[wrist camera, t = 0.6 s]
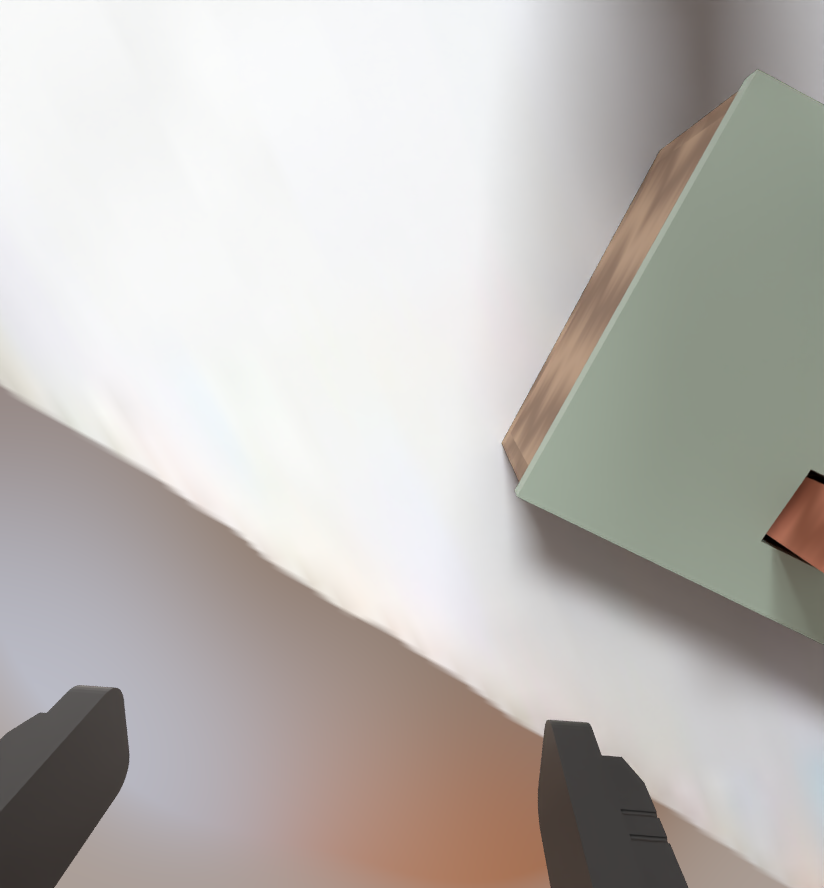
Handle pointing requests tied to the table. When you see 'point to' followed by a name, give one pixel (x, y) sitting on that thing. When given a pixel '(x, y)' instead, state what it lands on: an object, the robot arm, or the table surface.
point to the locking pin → (803, 523)
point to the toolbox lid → (712, 372)
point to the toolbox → (612, 291)
